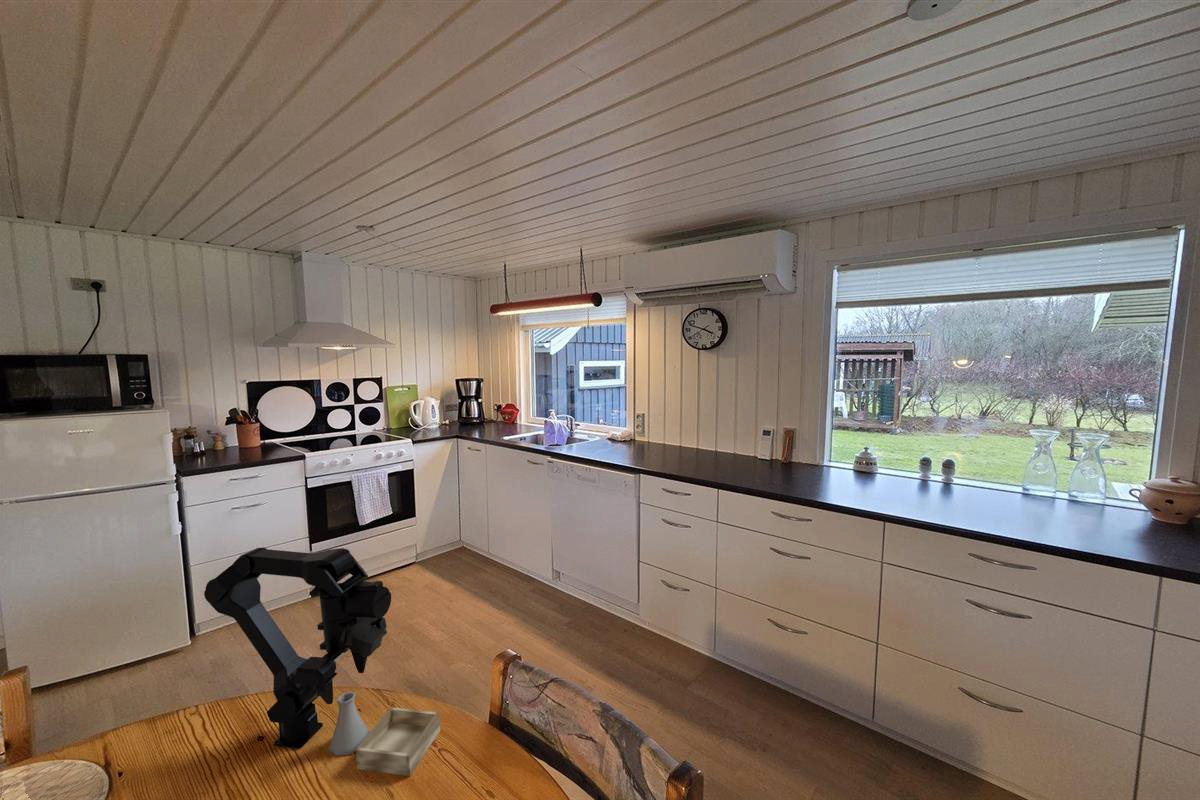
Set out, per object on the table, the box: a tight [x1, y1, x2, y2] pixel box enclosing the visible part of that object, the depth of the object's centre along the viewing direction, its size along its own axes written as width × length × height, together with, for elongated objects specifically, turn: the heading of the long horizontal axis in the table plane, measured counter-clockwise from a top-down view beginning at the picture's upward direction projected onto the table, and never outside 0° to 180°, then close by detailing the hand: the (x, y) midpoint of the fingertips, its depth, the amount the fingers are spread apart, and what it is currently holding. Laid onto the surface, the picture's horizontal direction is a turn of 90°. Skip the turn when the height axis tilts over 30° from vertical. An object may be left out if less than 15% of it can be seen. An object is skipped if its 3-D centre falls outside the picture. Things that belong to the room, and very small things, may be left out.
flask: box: [328, 691, 371, 756], centre depth 98 cm, size 7×7×10 cm
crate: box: [355, 706, 441, 777], centre depth 96 cm, size 11×11×4 cm
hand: (346, 687), depth 97 cm, fingers open, 9 cm apart
